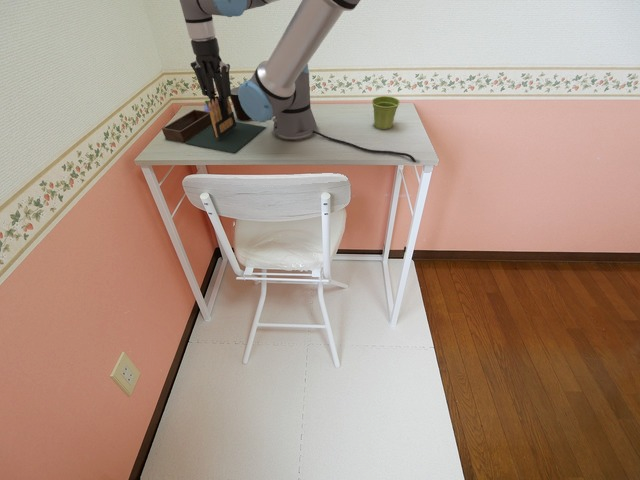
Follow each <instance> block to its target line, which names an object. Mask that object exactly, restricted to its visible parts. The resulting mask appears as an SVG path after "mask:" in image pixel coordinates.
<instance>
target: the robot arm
mask: <svg viewBox="0 0 640 480" xmlns="http://www.w3.org/2000/svg"><path fill="white" fill-rule="evenodd" d="M278 1H280V0H179V2H180V7H181V11H182V14H183V18H184V22H185V26H186V30H187V34H188V37H189V39H191V40H190V44H191V45H190V46H191V48H192V52H193V54H194V55H195V61H192V62H190V67H191V68H192V70H193V71H194V73H195V74H194V75H195V76H196V77H195V78H196V79H197V82H198V85H199V87H200V90H201V92H202V95H203V96H204V97H208V99H209V101H210V102H211V105H212V99H213V100H214V102H215V98H217V99H218V96H219V99H218V103H219V107H220V111H221V115H222V119H223V120H225V119H227V118H228V117H229V114H228V110H227V108H228V103H227V98H230V96H231V89H232V87H231V78H230V69H231V65H230V64H229V63H226V62H223V60H222V58H221V56H220V46H219V42H218V41H219V40H218V38H217V37H216V35H217V33H216V28H215V23H214V18H213V16H221V17H227V18H232V17H240V16H242V15H243V14H244V13H245V11H247V10H251V9H256V8H260V7H264V6H266V5H269V4H272V3H275V2H278ZM360 2H361V0H301V2H300V4H299V6H298V7H297V8H296V10H295V13H294V14H293V16H292V17H291V20H290V21H289V23H288V25H286V28H285V30H284V32H283V33H282V35H281V37H280V39H279V41H278V42H277V44H276V46H275V47H274V50H273V51H272V52H271V54H270V56H269V58H268V60H262V61H261V62H260V63H259V64H258V65H257V66H256V69H255V71H254V72H253V74H252V76H251V77H250V78H249V79H248V80H245V81H243V83H241V84H240V86H238V87H239V90H238V97H239V101H240V103H241V106H242V108H243V110H244V111H245V113H246V114H247V115H248V116H249V117H250V118H251V120H253V121H254V122H258V123H266V122H268V121H271V120H272V122H273V125H272V126H273V127H272V129H273V135H274V136H275V137H276V138H278V139H279V140H283V141H289V142H296V141H297V142H298V141H304V140H306V139H309V138H311V137H313V136H314V135H318V136H320V137H322V138H324V139H327V140H330V141H333V142H336V143H340V144H344V145H347V146H350V147H353V148H356V149H357V150H358V149H359V150H360V151H365V152H368V153H374V154H389V155H390V154H391V155H395V156H403V157H408V158H409V159H411V161H412V162H413V163H416V162H417V160H416V158H415V157H414V156H413V155H411V154H409V153H406V152H398V151H392V150H378V149H377V150H376V149H370V148H366V147H362V146H359V145H356V144H354V143H351V142H348V141H346V140H341V139H337V138H334V137H330V136H327V135H325V134H323V133H321V132H319V131H318V125H317V121H316V119H315V116H314V113H313V111H312V108H311V87H310V72H309V64H308V63H309V62H310V61H311V59H312V58H313V56H314V55H315V54H316V52H317V50H318V49H319V48H320V46H321V45H322V44H323V42H324V40H325V39H326V37H327V36H328V35H329V33H330V32H331V30H332V29H333V27H334V26H335V25H336V23H337V22H338V20H339V19H340V17H341V16H342V14H343V13H344V12H345V11H346V12H351V11H353V10H355V8H356V7H357V6H358V4H359V3H360ZM216 91H217V93H216ZM406 251H407V246H404V247H403V253H406Z"/></svg>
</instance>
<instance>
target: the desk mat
mask: <svg viewBox="0 0 640 480" xmlns="http://www.w3.org/2000/svg"><path fill="white" fill-rule="evenodd" d="M236 125H237V126H236V127H234V128H233V129H232V130H230V131H229V132H228V133H226V134H225V135H224V136H222V137H221V138H215V137H214V133H213V128H212V125H210V126H209V127H207V128H206V129H204V130H203V131H201V132H200V133H198V134H197V135H195V136H194V137H192V138H191V139H189V140H188V141H186V142H185V145H188V146H194V147H199V148H205V149H210V150H215V151H218V152H219V151H220V152H225V153H229V154H233V155H234V154H236V153H238V152H239V151H240V150H241V149H242V148H243V147H245V146H246V145H247V144H248V143H250V142H251V141H252V140H253V139H254V138H255V137H257V136H258V135H259V134H260V133H261V132H263V131H264V130H265V129H266V126H263V125H256V124H251V123H243V122H239V121H236Z"/></svg>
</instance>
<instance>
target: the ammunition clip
mask: <svg viewBox="0 0 640 480" xmlns="http://www.w3.org/2000/svg"><path fill="white" fill-rule="evenodd" d="M217 96H218V99H219V95H217ZM218 99H217V98H215V102H214V100H213V99H212V105H211V103H210V100H208V101H209V110H210V117H211V120H212V123H211V124H212V128H213V133H214V137H215V138H221V137H222V136H224V135H225V134H226V133H228V132H229V131H230V130H232V129H233V128H234V127H236V126H237V125H236V122H237V121H236V117H235V112H234V111H233V109H232V108H233V107H232V105H231V104H232V103H231V102H230V101H231V100H230V97H228V98H227V103H228V108H227V110H228V114H229V117H228V118H227V119H225V120H223V119H222V115H221V111H220V107H219V103H218Z"/></svg>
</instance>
